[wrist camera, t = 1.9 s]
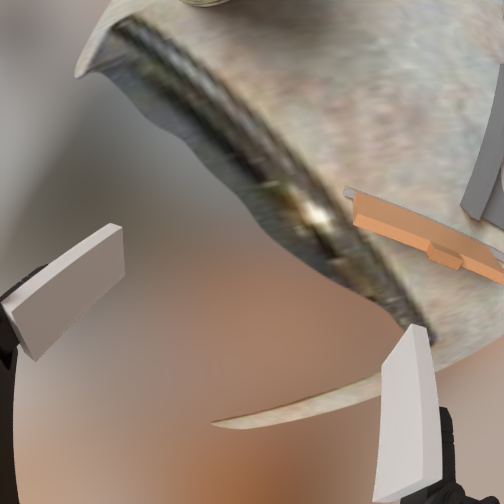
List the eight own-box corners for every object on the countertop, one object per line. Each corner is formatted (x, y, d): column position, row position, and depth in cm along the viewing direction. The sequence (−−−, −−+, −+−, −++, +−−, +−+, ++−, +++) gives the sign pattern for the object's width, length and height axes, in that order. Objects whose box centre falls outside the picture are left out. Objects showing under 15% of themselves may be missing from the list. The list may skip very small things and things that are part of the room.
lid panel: (355, 191, 26) (358, 219, 20) (486, 245, 24) (513, 283, 18) (352, 200, 27) (353, 231, 21) (482, 253, 24) (507, 292, 18)
